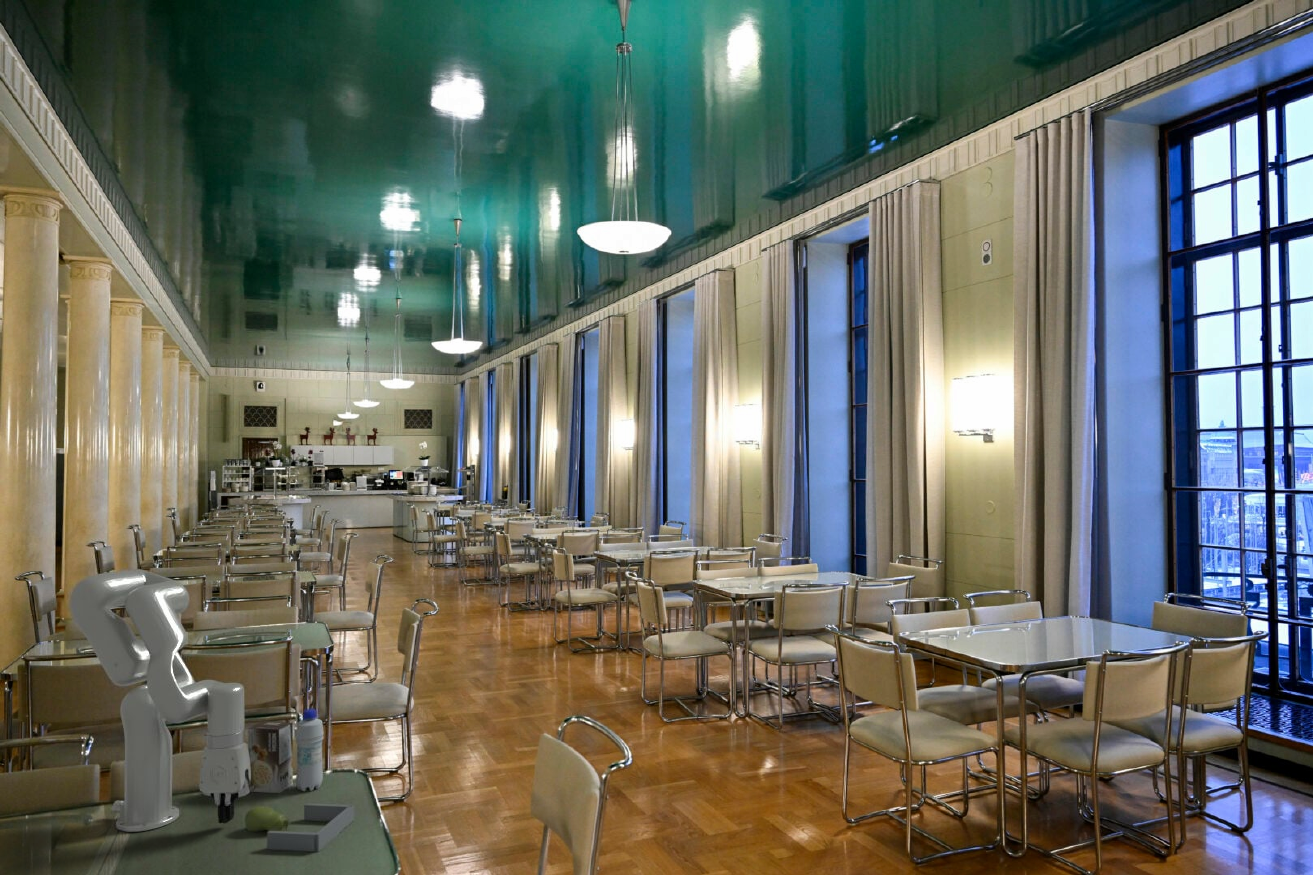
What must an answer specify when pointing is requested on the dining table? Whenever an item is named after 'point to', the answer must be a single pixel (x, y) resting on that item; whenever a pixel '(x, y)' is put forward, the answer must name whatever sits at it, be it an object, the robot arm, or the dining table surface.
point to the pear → (265, 819)
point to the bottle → (309, 751)
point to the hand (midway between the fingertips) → (226, 820)
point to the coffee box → (271, 756)
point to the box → (313, 841)
